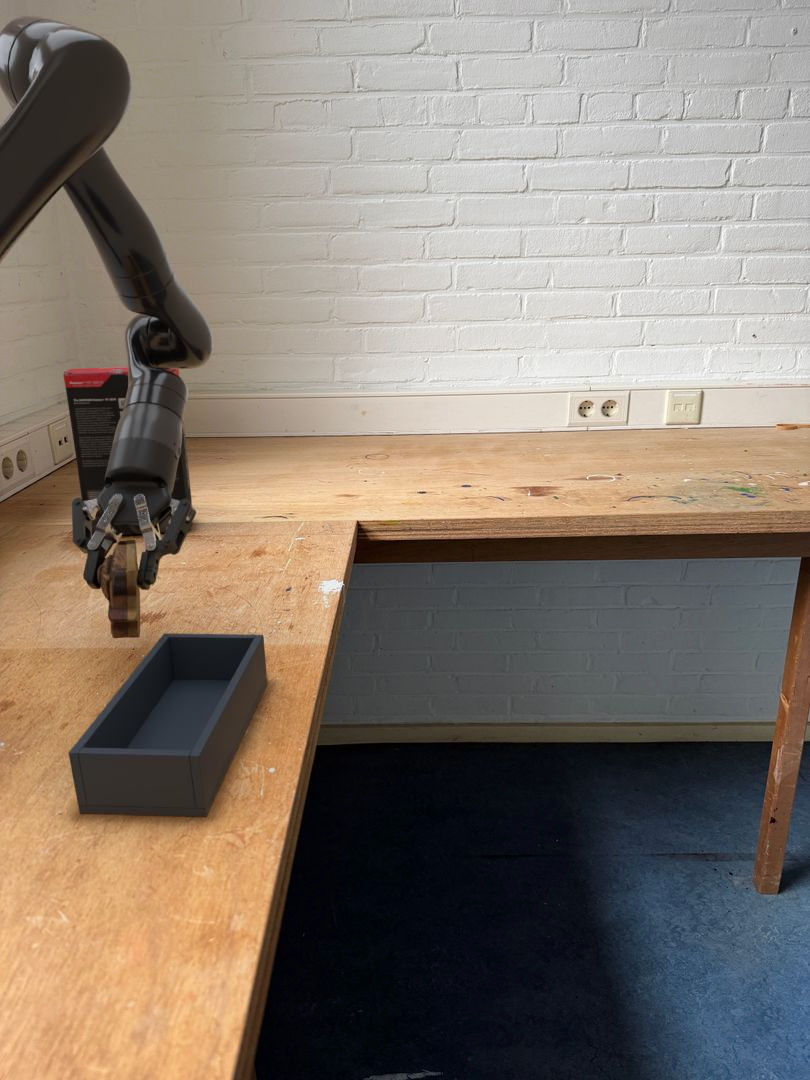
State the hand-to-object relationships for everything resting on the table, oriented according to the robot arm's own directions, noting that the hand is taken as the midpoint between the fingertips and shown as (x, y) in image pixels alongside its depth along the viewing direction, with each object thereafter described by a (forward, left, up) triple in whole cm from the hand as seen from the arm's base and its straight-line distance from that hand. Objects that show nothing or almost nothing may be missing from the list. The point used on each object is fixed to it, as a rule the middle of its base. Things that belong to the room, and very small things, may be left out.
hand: (118, 586), depth 86 cm
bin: (+11, -14, -10) cm, 20 cm away
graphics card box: (-17, +48, -10) cm, 52 cm away
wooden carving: (0, +2, -6) cm, 7 cm away
